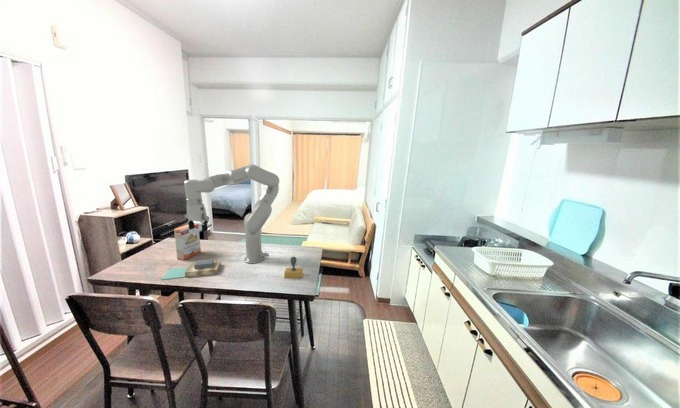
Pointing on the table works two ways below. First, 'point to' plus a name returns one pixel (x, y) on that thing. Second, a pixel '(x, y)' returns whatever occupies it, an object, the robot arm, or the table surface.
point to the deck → (202, 270)
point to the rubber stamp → (293, 270)
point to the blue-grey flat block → (204, 263)
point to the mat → (175, 273)
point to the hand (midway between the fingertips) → (198, 229)
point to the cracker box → (187, 241)
